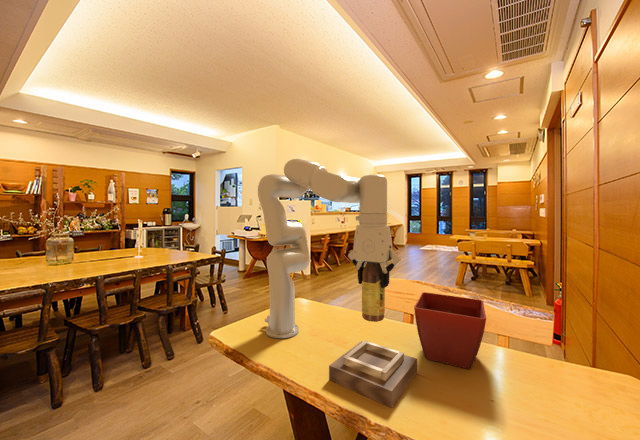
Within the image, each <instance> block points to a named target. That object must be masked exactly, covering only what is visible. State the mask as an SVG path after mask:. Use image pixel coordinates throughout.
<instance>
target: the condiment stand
mask: <svg viewBox="0 0 640 440" xmlns="http://www.w3.org/2000/svg"><path fill="white" fill-rule="evenodd" d="M417 373H418V358H416V357H413V356H409V355H406V354H405V352H402V351H399V350H397V349H393V348H389V347H387V346H383V345H380V344H377V343H374V342H370V341H367V340H360V341H359V342H358V343H356V344H355V345H354V346H352V347H351V348H350V349H349V350H348V351H346V352H344V353H343V354H342V355H341V356H339V357H338V358H337V359H335V360H334V361H333V362H331V363H330V364H329V365H328V380H329V381H331V382H333V383H336V384H337V385H340V386H342V387H344V388H346V389H349V390H351V391H352V392H353V391H354V392H355V393H357V394H360V395H362V396H364V397H366V398H369V399H371V400H373V401H375V402H378V403H380V404H382V405H383V406H387V407H389V408H391V409H392V408H393V407H394V406H395V404H396V403H397V401H398V400H399V398H400V397H401V396H402V395H403V393H404V392H405V391H406V389H407V387H408V386H409V385H410V383H411V382H412V380H413V379H414V377H416V375H417Z"/></svg>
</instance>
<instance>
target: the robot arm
mask: <svg viewBox="0 0 640 440" xmlns="http://www.w3.org/2000/svg"><path fill="white" fill-rule="evenodd" d="M283 173H284V175H283V174H276V173H275V174H267V175H264V176H262V177H261V179H259V182H258V186H257V197H258V201H259V204H260V207H261V209H262V213H263V221H264V226H265V228H264V229H265V234H266V239H267V241H268V243H269V245H270V246H274V247H279V246H280V247H282V246H289V247H290V248H281V249H280V248H279V249H276V250H273V251H272V252H270V253H269V254H268V256H267V257H266V267H267V273H268V282H269V314H268V315H267V316H266V318H265V319H264V322H265V323H267V324H268V326H267V327H266V328H265V334H266V336H268V337H270V338H273V339H288V338H292V337H294V336H296V335H298V333H299V332H300V326H299V325H297V324H296V312H295V311H296V307H295V306H296V301H295V300H296V298H295V297H296V296H295V295H296V294H295V293H296V292H295V287H296V286H295V282H294V280H293V278H292V277H291V274H293V273H298V272H301V271H304V270H306V269H307V268H308V267H309V265H310V261H311V260H310V259H311V257H310V251H309V245H308V239H307V232H306V230H305V227H304V226H303V224H302V223H301V222H298V221H295V220H288V219H287V215H286V209H285V207H284V205H283V204H282V202H281V201H280V200H279V199H278V198H286V199H287V198H292V199H293V198H294V199H295V198H299V197H301V196H302V195H304V194H305V193H307V192H308V191H311V192H312V193H313V194H314V195H316V196H317V197H320V198H322V199H325V200H327V201H330V202H333V203H345V204H346V203H347V204H348V203H349V204H359V205H358V207H359V208H358V209H359V212H358V215H356V216H355V221H356V222H358V223H359V224H357V225H356V227H355V231H354V236H353V237H354V238H353V249H352V250H351V251H350V252H349V253H348V255H347V257H348V258H349V259H350V260H351V262H352V264H353V265H354V266H355V269H356V270H357V281H358V285H362V272H363V269H364V267H365V266H366V264H367V262H373V263H380V265H381V268H382V270H383V273H381V287H382V288H387V287H388V286H389V284H390V272H391V271H393V269H394V268H396V266H398V264H400V263H401V262H402V259H401V258H400V256H399V255H398V254H397V253H396V252H395V251H394V250H393V240H392V234H391V232H392V231H391V227H390V225H388V180H387V177H386V176H385V175H382V174H367V175H363V176H361V177H353V176H346V175H339V174H335V173H331V172H328V169H327V168H326V167H325V166H323V165H321V164H319V163H318V162H315V161H312V160H307V159H302V158H291V159H290V160H288V161H287V162H286V163H285V164H284V166H283ZM390 261H392V262H390Z"/></svg>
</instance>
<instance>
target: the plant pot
mask: <svg viewBox="0 0 640 440" xmlns="http://www.w3.org/2000/svg"><path fill="white" fill-rule="evenodd" d="M413 308H414V309H413V310H414V316H415V317H414V318H415V322H416V329H417V335H418V338H419V341H420V347H421V349H422V352H423V354H424V355H423V356H424V358H425V359H427V360H430V361H433V362H434V361H435V362H439V363H442V364H446V365H451V366H455V367H458V368H461V369H465V370H466V369H467V370H470V369H472V367H473V365H474V364H475V361H476V358H477V356H478V354H479V352H480V351H479V350H480V347H481V344H482V341H483V337H484V333H485V328H486V323H487V317H486V316H487V315H486V310H485V303H484V300H482V299H477V298H476V299H475V298H469V297H462V296H455V295H447V294H441V293H440V294H439V293H434V292H433V293H432V292H426V291H425V292H424V291H423V292H422V293H421V294H420V296H419V298H418V299H417V301H416V304H415V305H414V307H413Z"/></svg>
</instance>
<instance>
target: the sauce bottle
mask: <svg viewBox="0 0 640 440" xmlns="http://www.w3.org/2000/svg"><path fill="white" fill-rule="evenodd" d="M381 273H383V270H382V268H381V265H380V263H373V262H366V263H365V266H364V269H363V272H362V284H361V314H362V319H364V320H365V321H368V322H371V323H372V322H375V323H376V322H377V323H378V322H382V321H383V320H384V318H385V314H386V313H385V310H386V309H385V308H386V307H385V303H386V300H385V295H386V293H385V292H386V290H385V288H386V287H385V288H382V287H381Z"/></svg>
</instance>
